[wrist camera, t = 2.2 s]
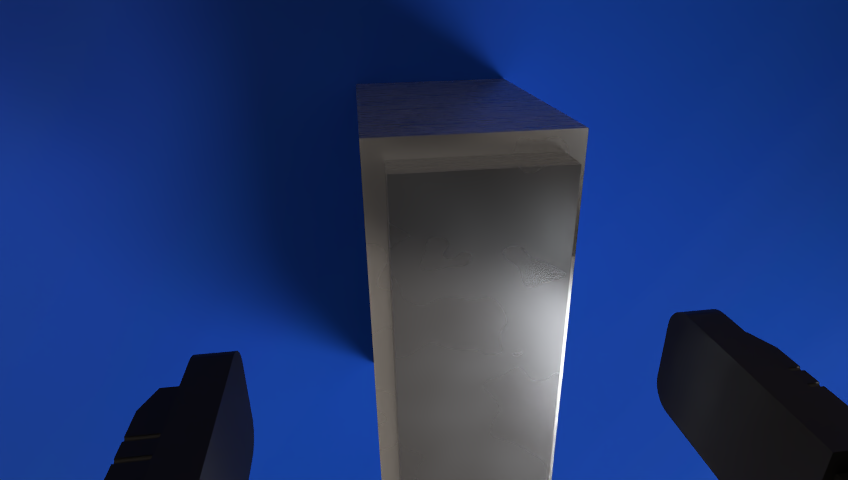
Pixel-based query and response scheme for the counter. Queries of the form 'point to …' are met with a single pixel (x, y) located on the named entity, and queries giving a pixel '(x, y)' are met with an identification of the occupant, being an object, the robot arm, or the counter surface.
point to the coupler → (468, 273)
